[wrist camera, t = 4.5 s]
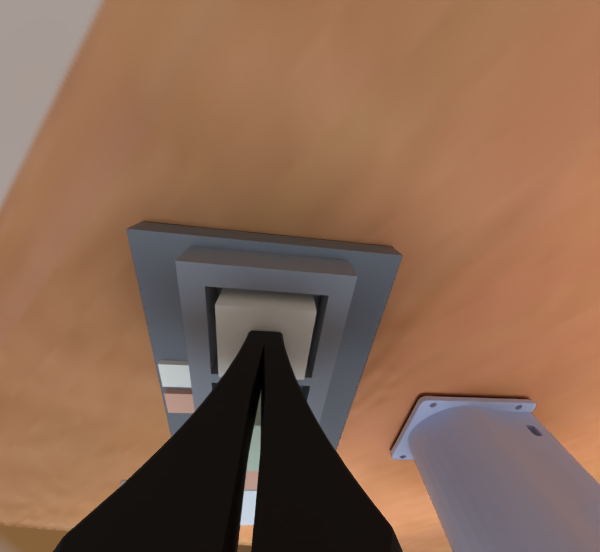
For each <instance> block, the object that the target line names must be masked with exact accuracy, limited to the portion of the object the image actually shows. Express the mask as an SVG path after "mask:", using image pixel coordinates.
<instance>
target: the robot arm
mask: <svg viewBox="0 0 600 552" xmlns="http://www.w3.org/2000/svg"><path fill="white" fill-rule="evenodd" d="M260 393H261V436H260V460H259V472H258V483H257V494H256V505H255V517H254V528H253V539H252V550H251V552H403V551H402V549H401V546H400V544H399V542H398V539H397V537H396V535H395V532H394V530H393V528H392V526H391V525H390V524H389V522H388V521H387V520H386V519H385V517H384V516H383V515H382V514H381V512H380V511H379V510H378V508H377V507H376V506H375V505H374V503H373V502H372V501H371V499H370V498H369V497H368V496H367V494H366V493H365V492H364V490H363V489H362V488H361V486H360V485H359V484H358V482H357V481H356V479H355V478H354V477H353V475H352V474H351V472H350V471H349V470H348V468H347V467H346V465H345V464H344V462H343V461H342V459H341V458H340V456H339V455H338V453H337V452H336V450H335V449H334V447H333V446H332V444H331V443H330V441H329V440H328V438H327V437H326V435H325V433H324V432H323V430H322V428H321V426H320V425H319V423H318V421H317V420H316V418H315V416H314V414H313V412H312V411H311V409H310V407H309V405H308V403H307V401H306V399H305V397H304V395H303V393H302V390H301V388H300V386H299V384H298V382H297V379H296V377H295V374H294V372H293V369H292V367H291V364H290V361H289V358H288V355H287V352H286V349H285V345H284V340H283V334H282V333H281V332H272V331H255V330H251V331H250V332H248V335H247V337H246V339H245V341H244V343H243V345H242V347H241V349H240V350H239V352H238V354H237V355H236V357H235V358H234V360H233V362H232V363H231V365H230V366H229V368H228V369H227V371H226V372H225V374H224V375H223V376H222V378H221V379H220V380H219V382H218V383H217V384H216V386H215V387H214V388H213V390H212V391H211V392H210V394H209V395H208V396H207V397H206V399H205V400H204V401H203V402H202V403H201V405H200V406H199V407H198V408H197V409H196V411H195V412H194V413H193V414H192V415H191V416H190V417H189V419H188V420H187V421H186V422H185V423H184V424H183V425H182V426H181V427H180V428H179V429H178V431H177V432H176V433H175V434H174V435H173V436H172V437H171V438H170V439H169V440H168V441H167V442H166V443H165V444H164V445H163V446H162V447H161V448H160V449H159V450H158V451H157V452H156V453H155V454H154V455H153V456H152V457H151V458H150V459H149V460H148V461H147V462H146V463H145V464H144V465H143V466H142V467H141V468H139V469H138V470H137V471H136V472H135V473H134V474H133V475H132V476H131V477H130V478H129V479H128V480H127V481H126V482H125V483H124V484H123V485H122V486H120V487H119V488H118V489H117V490H116V491H115V492H114V493H113V494H111V495H110V496H109V497H108V498H107V499H106V500H105V501H103V502H102V503H101V504H100V505H99V506H98V507H97V508H96V509H94V510H93V511H92V512H91V513H90V514H89V515H88V516H86V517H85V518H84V519H83V520H82V521H81V522H80V523H78V524H77V525H76V526H75V527H74V528H73V529H72V530H70V531H69V532H68V533H67V534H66V535H65V536H64V537H63V538H62V540H61V541H60V543H59V544H58V545H57V547H56V548H55V550H54V551H53V552H237V548H238V540H239V531H240V522H241V514H242V505H243V496H244V488H245V479H246V471H247V462H248V456H249V450H250V445H251V439H252V434H253V429H254V424H255V419H256V414H257V409H258V403H259V398H260ZM535 408H536V404H535V403H534V402H533V401H532V400H530V399H502V398H470V397H438V396H423V397H421V398H420V399H419V400H418V401H417V403H416V405H415V407H414V409H413V411H412V413H411V415H410V417H409V418H408V420H407V422H406V424H405V426H404V428H403V430H402V432H401V433H400V435H399V437H398V439H397V441H396V443H395V445H394V447H393V448H392V450H391V452H390V454H391V457H392V459H395V460H414V461H415V463H416V465H417V468H418V470H419V473H420V475H421V477H422V480H423V482H424V484H425V487H426V489H427V491H428V494H429V496H430V499H431V501H432V503H433V506H434V508H435V510H436V513H437V515H438V517H439V520H440V522H441V525H442V527H443V529H444V532H445V534H446V536H447V539H448V541H449V543H450V546H451V548H452V551H453V552H600V484H599V483H598V482H597V481H596V480H595V479H594V478H593V477H592V476H591V475H590V474H589V473H588V472H587V471H586V470H585V469H584V468H583V467H582V466H581V464H580V463H579V462H578V461H577V460H576V459H575V458H574V457H573V456H572V455H571V454H570V453H569V452H568V451H567V450H566V449H565V448H564V447H563V446H562V445H561V444H560V442H559V441H558V440H557V439H556V438H555V437H554V436H553V435H552V434H551V433H550V432H549V431H548V430H547V429H546V428H545V427H544V426H543V425H542V424H541V423H540V422H539V421H538V419H537V418H536V417H535V416H534V415H533V414H532V413H531V412H532V411H533V410H534V409H535Z"/></svg>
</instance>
